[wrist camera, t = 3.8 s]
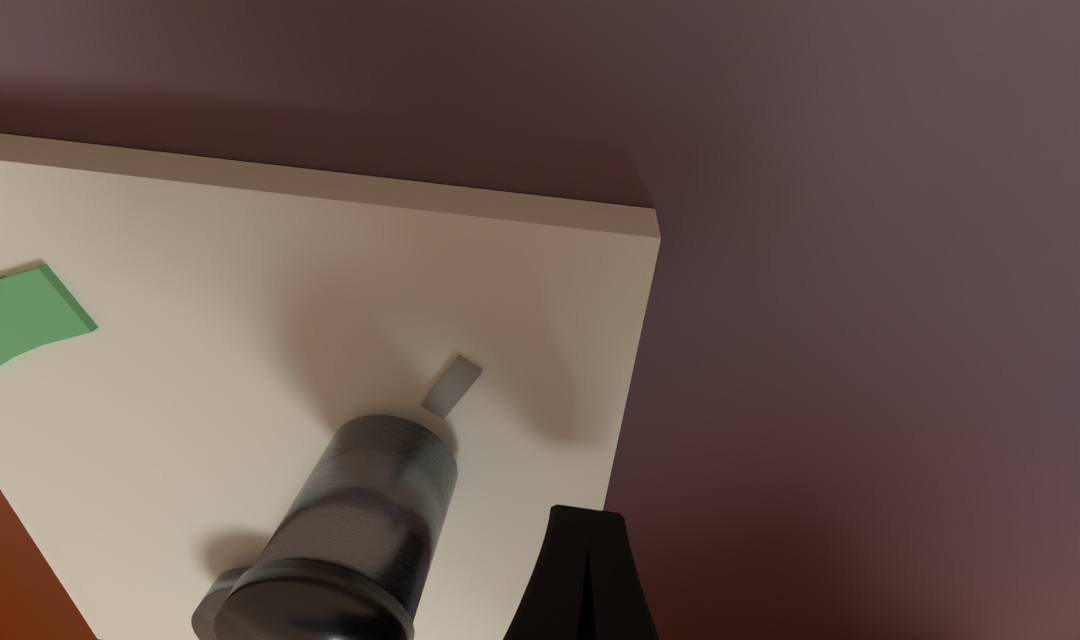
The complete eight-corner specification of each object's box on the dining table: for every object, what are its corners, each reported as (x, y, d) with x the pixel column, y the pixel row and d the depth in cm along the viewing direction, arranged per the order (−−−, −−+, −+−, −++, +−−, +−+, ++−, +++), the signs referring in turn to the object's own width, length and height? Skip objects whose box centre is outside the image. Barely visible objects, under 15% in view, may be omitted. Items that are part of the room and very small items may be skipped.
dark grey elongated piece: (314, 658, 18) (240, 825, 14) (197, 607, 17) (88, 772, 13) (502, 468, 12) (459, 664, 9) (343, 377, 11) (222, 555, 8)
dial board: (655, 208, 11) (661, 243, 9) (562, 668, 20) (558, 720, 19) (-140, 117, 12) (-245, 135, 10) (128, 599, 21) (92, 644, 20)
